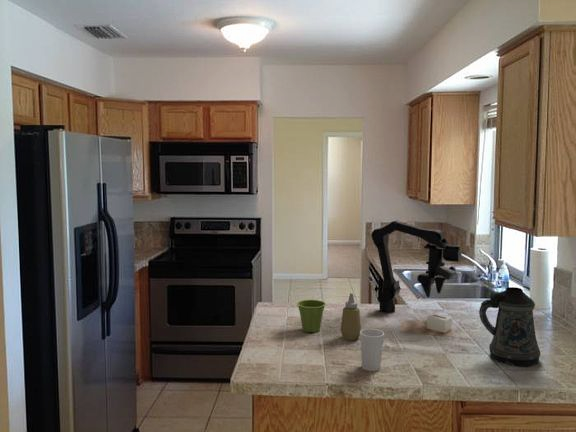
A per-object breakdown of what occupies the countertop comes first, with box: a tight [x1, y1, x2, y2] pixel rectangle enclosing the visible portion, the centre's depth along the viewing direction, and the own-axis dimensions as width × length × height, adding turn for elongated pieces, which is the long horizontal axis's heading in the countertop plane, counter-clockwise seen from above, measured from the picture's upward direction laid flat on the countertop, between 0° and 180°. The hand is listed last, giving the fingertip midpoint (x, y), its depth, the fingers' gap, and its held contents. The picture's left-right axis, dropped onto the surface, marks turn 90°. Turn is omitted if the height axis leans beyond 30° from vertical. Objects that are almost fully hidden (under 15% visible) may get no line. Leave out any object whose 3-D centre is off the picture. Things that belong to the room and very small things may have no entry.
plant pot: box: [296, 299, 327, 333], centre depth 205 cm, size 12×12×11 cm
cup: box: [359, 328, 385, 372], centre depth 168 cm, size 8×8×12 cm
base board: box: [400, 319, 454, 338], centre depth 204 cm, size 20×16×2 cm
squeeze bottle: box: [340, 292, 362, 342], centre depth 195 cm, size 8×8×18 cm
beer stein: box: [478, 286, 541, 368], centre depth 175 cm, size 16×19×25 cm
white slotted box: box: [426, 313, 453, 333], centre depth 203 cm, size 6×8×5 cm
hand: (433, 295), depth 215 cm, fingers open, 9 cm apart
